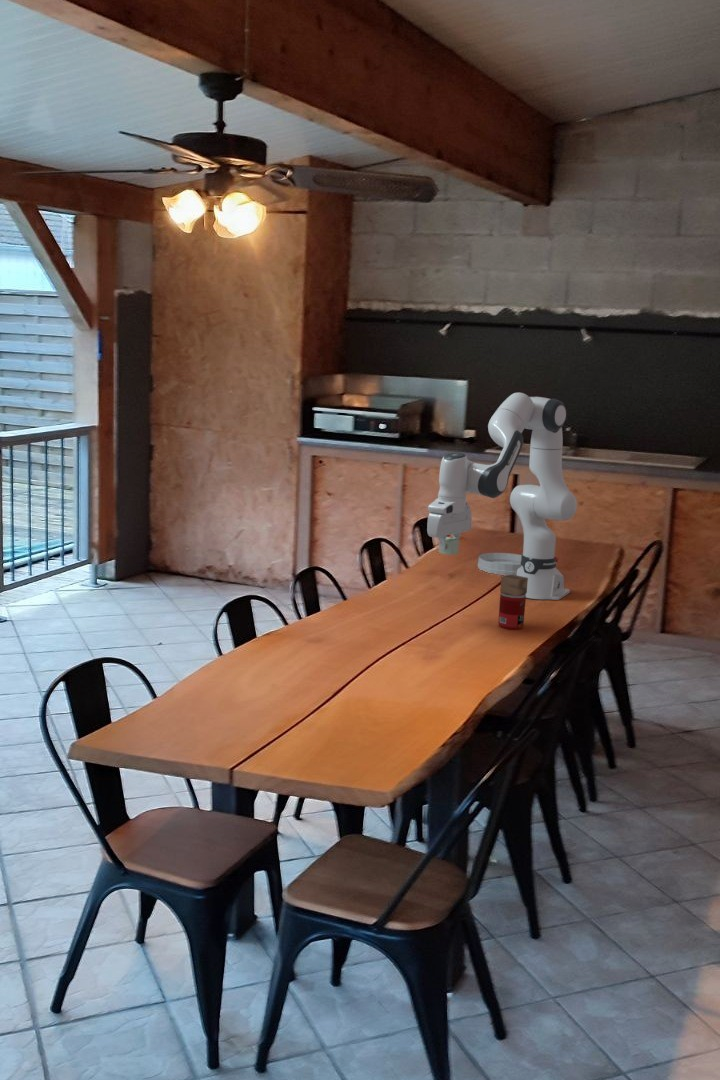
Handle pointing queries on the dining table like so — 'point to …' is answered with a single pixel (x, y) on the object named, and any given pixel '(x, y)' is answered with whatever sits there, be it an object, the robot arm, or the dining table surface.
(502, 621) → the canned food
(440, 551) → the sage cube
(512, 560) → the dish
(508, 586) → the walnut block
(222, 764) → the dining table surface
